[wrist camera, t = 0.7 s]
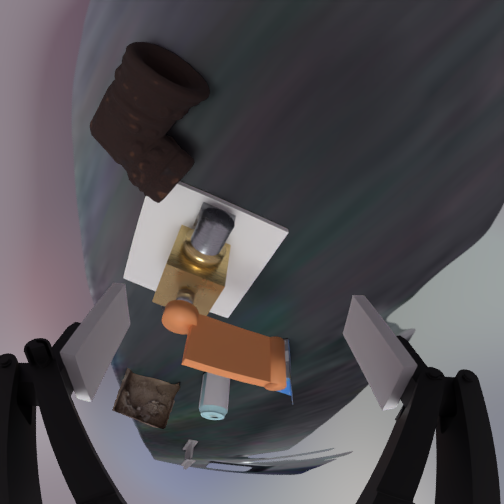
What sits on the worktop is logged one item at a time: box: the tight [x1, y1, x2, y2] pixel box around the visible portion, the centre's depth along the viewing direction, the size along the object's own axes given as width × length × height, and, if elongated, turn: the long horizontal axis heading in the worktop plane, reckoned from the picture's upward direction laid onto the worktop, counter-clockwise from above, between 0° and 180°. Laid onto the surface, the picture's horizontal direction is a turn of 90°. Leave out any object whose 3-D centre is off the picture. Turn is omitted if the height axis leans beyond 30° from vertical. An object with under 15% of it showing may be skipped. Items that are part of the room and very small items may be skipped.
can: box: [199, 372, 230, 420], centre depth 67 cm, size 7×7×12 cm
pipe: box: [90, 42, 210, 203], centre depth 30 cm, size 10×15×15 cm
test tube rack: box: [181, 440, 198, 469], centre depth 119 cm, size 25×4×13 cm, turn 161°
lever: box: [162, 300, 287, 391], centre depth 35 cm, size 17×4×7 cm, turn 63°
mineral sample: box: [113, 368, 180, 429], centre depth 69 cm, size 17×4×15 cm, turn 72°
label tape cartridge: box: [278, 339, 293, 405], centre depth 58 cm, size 9×4×12 cm, turn 9°
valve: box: [152, 202, 236, 316], centre depth 41 cm, size 20×8×12 cm, turn 153°
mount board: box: [124, 181, 288, 318], centre depth 47 cm, size 22×21×1 cm
